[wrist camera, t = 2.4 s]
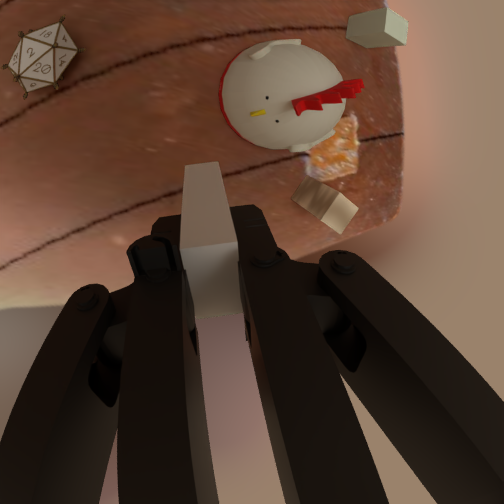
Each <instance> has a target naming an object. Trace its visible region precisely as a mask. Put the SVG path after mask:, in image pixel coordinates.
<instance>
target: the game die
mask: <svg viewBox="0 0 504 504" xmlns="http://www.w3.org/2000/svg"><path fill="white" fill-rule="evenodd" d="M64 19H65V15H63V16H62V17H61V18H60V21H59V22H57V23H54V24H51V25H48V26H45V27H42V28H40V29H37V30H35V31H33V30H29V33H27V34H25V35H24V33H23V32H22V31H18V36H19V37H21V39H20V41H19V43H18V45H17V47H16V49H15V51H14V53H13V55H12V57H11V59H10V61H9V63H8V64H5V65H3V66H2V67H1V68H2V69H6V68H7V67H8V68H9V70H10V71H11V73H12V74H13V75H14V80H13V82H14V81H15V82H17V81H18V82H19V84H20V85H21V86H22V88H23V89H24V91H25V94H24V96H23V97H24V99H26V98H27V96H28V92H31V91H34V90H37V89H40V88H43V87H47V86H50V85H54V86H53V87H54V89H57V90H58V87H59V85H58V83H56V82H57V81H58V79H60V80H63V78H64V76H63V75H62V73H63V72H64V71H65V69H66V68H67V66H68V65H69V64H70V62H71V61H72V59H73V58H74V57H75V55H76V54H77V53H78V52H80V53H81V52H84V51H85V50H86V49H85V48H81V49H78V48H77V46H76V45H75V43H74V41H73V40H72V38H71V37H70V35H69V33H68V32H67V30H66V29H65V27H64V25H63V24H62V21H63V20H64Z"/></svg>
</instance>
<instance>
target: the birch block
mask: <svg viewBox="0 0 504 504" xmlns="http://www.w3.org/2000/svg"><path fill="white" fill-rule="evenodd" d="M291 199H292V200H293V201H295V202H296V203H298V204H299V205H300V206H302V207H303V208H305V209H306V210H307V211H309V212H310V213H312V214H313V215H314V216H316V217H317V218H318V219H320V220H321V221H322V222H324V223H325V224H327V225H328V226H329V227H331V228H332V229H334V230H335V231H336V232H338V233H339V234H341V233H342V232H343V230H344V229H345V228H346V226H347V225H348V223H349V222H350V220H351V219H352V217H353V216H354V215H355V213H356V212H357V210H358V208H357V207H356V206H355V205H354V204H353V203H352V202H350V201H349V200H348V199H347V198H346V197H345V196H343V195H342V194H341V193H340V192H338V191H336V190H334V189H333V188H331V187H329V186H327V185H325V184H323V183H321V182H319V181H317V180H315V179H313V178H311V177H310V176H308V175H306V177H305V178H304V180H303V181H302V183H301V184H300V186H299V187H298V189H297V190H296V192H295V193H294V194H293V196H292V197H291Z"/></svg>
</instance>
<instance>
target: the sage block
mask: <svg viewBox="0 0 504 504" xmlns="http://www.w3.org/2000/svg"><path fill="white" fill-rule="evenodd" d="M407 31H408V21H407V20H405V19H404V18H403V17H401V16H400V15H398V14H397V13H395V12H393V11H392V10H390V9H389V8H387V7H386V8H381V9H377V10H372V11H368V12H364V13H360V14H356V15H352V16H349V21H348V27H347V33H346V38H347V39H349V40H351V41H353V42H355V43H357V44H359V45H361V46H363V47H365V48H374V47H386V46H401V45H406V40H407Z"/></svg>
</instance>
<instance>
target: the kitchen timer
mask: <svg viewBox="0 0 504 504" xmlns="http://www.w3.org/2000/svg"><path fill="white" fill-rule="evenodd" d="M360 88H365V87H364V84H363V81H362V79H354V80H346V81H343V79H342V76H341V75H340V73H339V72H338V70H337V69H336V67H335V66H334V64H333V63H332V62H330V61H329V60H328V59H327V58H326V57H325V56H324V55H322V54H321V53H319V52H317V51H315V50H313V49H311V48H309V47H307V46H304V45H301V40H300V39H287V40H272V41H267V42H263V43H259V44H256V45H254V46H252V47H250V48H248V49H246V50H244V51H242V52H240V53H239V54H238V55H237V56H236V57H235V58H234V59H233V60H232V61H231V62H230V63H229V64H228V65H227V67H226V69H225V71H224V73H223V75H222V77H221V81H220V88H219V100H220V107H221V111H222V113H223V115H224V117H225V119H226V121H227V123H228V125H229V126H230V127H231V128H232V129H233V130H234V131H235V132H236V133H237V135H238V136H240V137H242V138H243V139H245V140H247V141H248V142H250V143H252V144H254V145H257V146H261V147H265V148H268V149H289V151H290V152H301V151H306V150H309V149H310V148H311V147H313V146H314V145H316V144H318V143H320V142H322V141H324V140H326V139H328V138H329V137H331V136H333V135H334V134H335V130H334V129H333V127H334V126H335V125H336V124H337V123H338V121H339V120H340V118H341V116H342V113H343V111H344V109H345V103H346V98H356V96H355V93H360V92H361V89H360Z"/></svg>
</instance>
